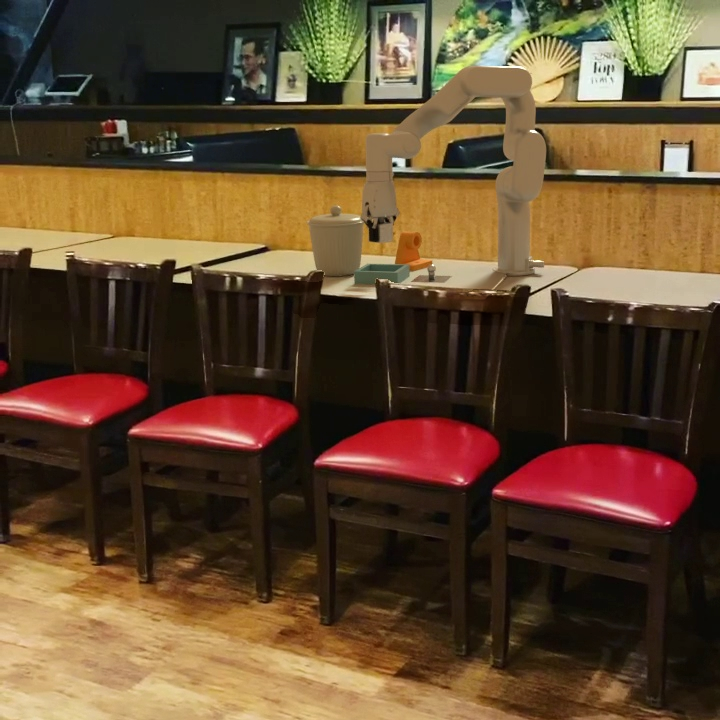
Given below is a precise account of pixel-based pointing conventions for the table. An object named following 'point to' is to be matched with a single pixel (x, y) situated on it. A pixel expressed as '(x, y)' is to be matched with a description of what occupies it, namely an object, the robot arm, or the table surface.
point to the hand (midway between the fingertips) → (380, 239)
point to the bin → (381, 273)
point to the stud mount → (431, 276)
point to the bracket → (411, 251)
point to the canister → (336, 242)
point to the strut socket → (384, 231)
